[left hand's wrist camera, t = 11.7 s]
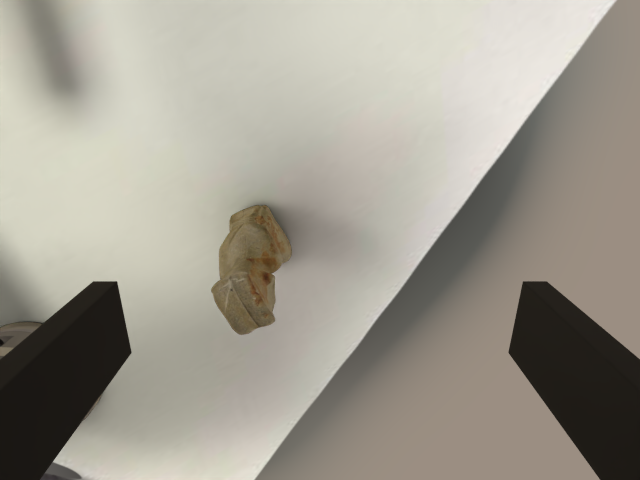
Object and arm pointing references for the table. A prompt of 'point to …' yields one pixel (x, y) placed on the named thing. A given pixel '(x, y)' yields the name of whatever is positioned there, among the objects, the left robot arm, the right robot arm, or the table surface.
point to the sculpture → (250, 269)
